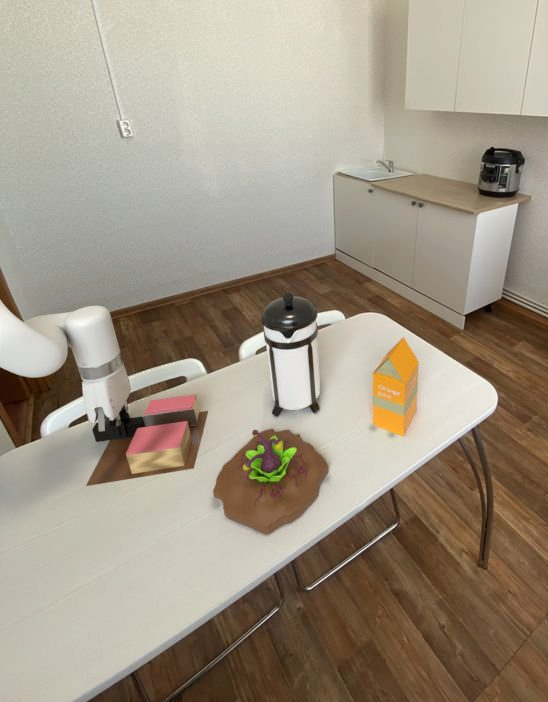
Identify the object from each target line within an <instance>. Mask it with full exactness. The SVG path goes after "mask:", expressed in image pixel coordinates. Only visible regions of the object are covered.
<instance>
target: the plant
mask: <svg viewBox="0 0 548 702" xmlns="http://www.w3.org/2000/svg"><path fill="white" fill-rule="evenodd" d="M251 435H252V436H253V437H252V438H251V439H250V440H249V441H248V442H247V443H246V444H245V445H244V446H242V447H241V448H240V449H239V450H238V451H237V452H236V453H235V454H234V455H233V456H232V457H231V458H230V460H228V461H227V462H225V463H224V464H223V465H222V467H221V470H220V472H219V473H218V475H217V477H216V480H215V485H214V488H213V490H212V493H213V497H214V498H216V499H219V500H220V501H221V502H222V506H223V512H224V516H225V518H227V519H228V520H231V521H234V522H236V523H238V524H240V525H243V526H245V527H248V528H250V529H252V530H253V531H256V532H258V533H260V534H263V535H266V536H268V535H270V534H272V533H274V532H276V531H277V530H278V529H280V528H281V527H283V526H285V525H289V524H292V523H294V522H295V521H297V520H298V519H299V518H300V517H302V516H303V514H304V513H305V512H306V511H307V510H308V509H309V508H310V506H311V505H312V504H313V503H314V502H315V501H316V499H318V497H319V490H320V486H321V484H322V482H323V480H324V479H325V477H326V476H327V474H328V473H329V464H328V463H327V461H326V460H325V458H324V457H323V456H322V455H321V454H320V453H319V452H318V451H317V450H316V448H315V447H314V446H313V445H312V444H311V443H309V442H307V441H304V440H303V439H302V437H301V434H300V433H293V432H292V430H289V429H284V430H281V431H276V430H275V429H274V428H269V429H266V430H262V431H260V432H259V430H258V429H253V430H252V432H251Z"/></svg>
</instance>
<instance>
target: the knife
mask: <svg viewBox="0 0 548 702" xmlns="http://www.w3.org/2000/svg"><path fill="white" fill-rule="evenodd" d="M184 421H187V422H188V426H189V425H196V424H198V422H197V417H196V413H195V408H191V409H184V410H177V411H170V412H162V413H155V414H148V415H145V414H142V415H141V416H136V417H130V418H127V419H121V422H124V425H125V429H126V432H127V436H126V437H133V436H134V435H135V433H136V430H137V428H142V427H149V426H156V425H163V424H170V423H177V422H184ZM91 431H92V435H93V437H94V440H95V442H96V443H98V442H106V441H110V440H112V439H110V436H109V433H108V430H106V431H101V432H99V429H98V422H95V423H94V425H93V427H92V429H91Z"/></svg>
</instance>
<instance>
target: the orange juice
mask: <svg viewBox="0 0 548 702" xmlns="http://www.w3.org/2000/svg"><path fill="white" fill-rule="evenodd" d="M419 363H420V362H419V359H418V358H417V356H416V354H415V353H414V351H413V350H412V348H411V346H410V345H409V343H408V342H407V340H406V338H405V337H404V336H403V337H402V338H401V339H400V340H399V341H397V342H396V344H395V345H394V346H393V347H392V348H391V349H390V350H389V351H387V353H386V354H385V356H384V358H382V360H381V362H380V363H379V364H378V366H377V367H376V369H374V371H373V372H372V425H373V426H375V427H377V428H379V429H382V430H385V431H387V432H390V433H392V434H395V435H398V436H401V437H404V436H405V434H406V432H407V431H408V428H409V427H410V424H411V422H412V420H413V418H414V416H415V414H416V412H417V407H418V406H417V405H418V404H417V403H418V387H419V385H418V384H419V382H418V381H419Z"/></svg>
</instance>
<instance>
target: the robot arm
mask: <svg viewBox="0 0 548 702" xmlns="http://www.w3.org/2000/svg"><path fill="white" fill-rule="evenodd" d="M68 348H71V351H72V354H73V357H74V360H75V363H76V366H77V369H78V372H79V375H80V379H81V380H82V382H81V386H82V387H81V389H82V390H81V391H82V398H83V403H84V407H85V408H84V409H85V410H86V411H85V412H86V415H87V418H88V421H89V423H90V424H96V423H98V429H99V432H101V431H106V430H108V433H109V436H110V439H112V440H114V439H121V438H126V436H127V432H126V429H125V425H124V422H121V419H127V418H131V417H130V414H129V405H128V399H129V396H130V394H131V390H132V388H131V383H130V378H129V375H128V372H127V370H126V367H125V365H124V359H123V356H122V352H121V348H120V345H119V342H118V339H117V334H116V330H115V326H114V324H113V319H112V315H111V313H110V311H109V309H108V308H107V307H104V306H102V305H88V306H84V307H81V308H78V309H75V310H73V311H67V312H60V313H49V314H43V315H38V316H34V317H30V318H28V319H27V320H25V321H23V320H21V319H20V318H18V317H17V316H16V315H15V314H14V313H13V312H11V310H9V308H8V307H7V306H6V305H5V304H4V303H3V301H2V300H1V299H0V369H1V368H2V369H3V370H6V371H8V372H10V373H12V374H15V375H18V376H20V377H24V378H32V379H33V378H34V379H35V378H42V377H43V378H44V377H47V376H50V375H52V374H53V373H56V372H57V371H58V370H59V369H61V367H63V365H64V364H65V362H66V361H67V357H68V353H69V352H68V351H69V349H68Z"/></svg>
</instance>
